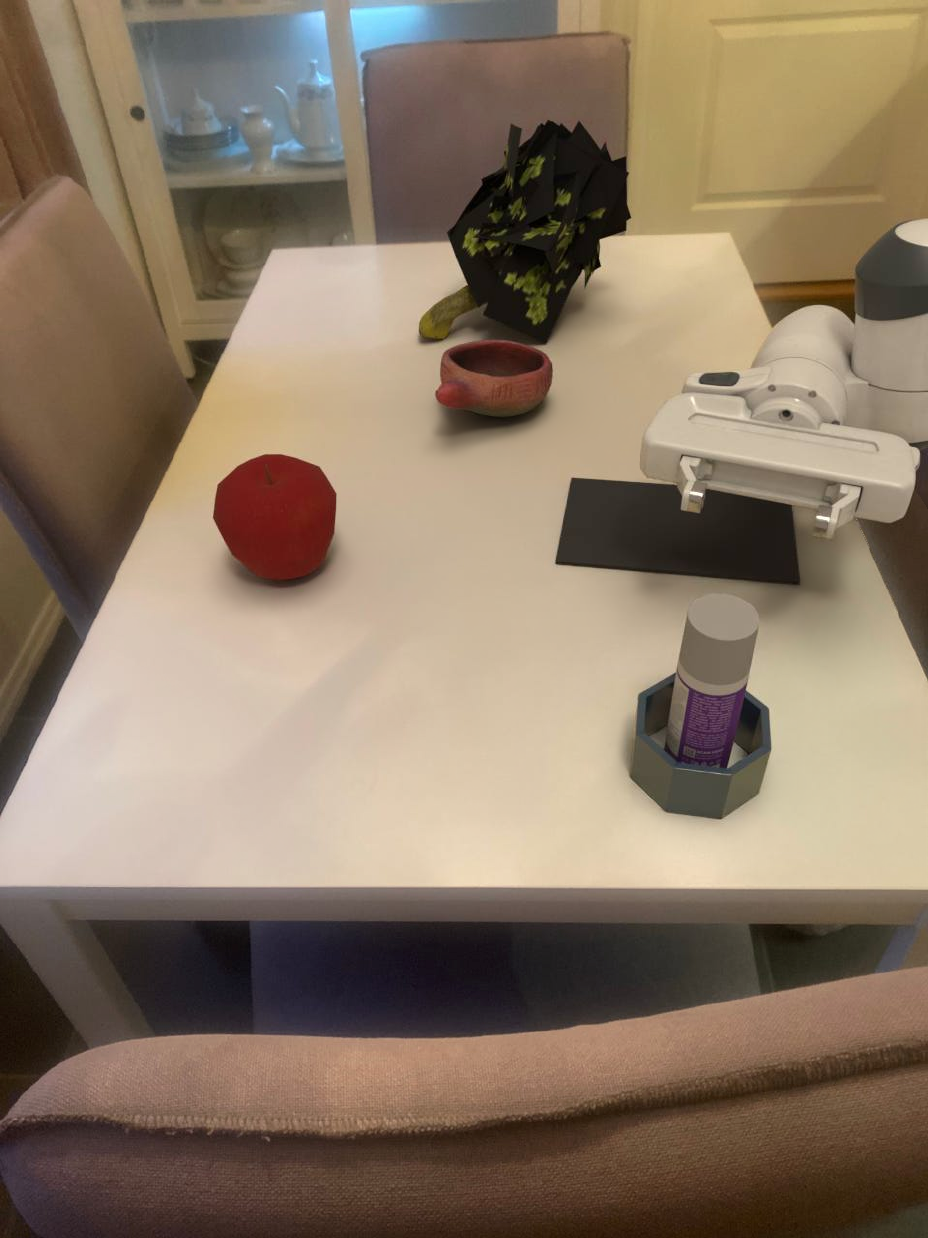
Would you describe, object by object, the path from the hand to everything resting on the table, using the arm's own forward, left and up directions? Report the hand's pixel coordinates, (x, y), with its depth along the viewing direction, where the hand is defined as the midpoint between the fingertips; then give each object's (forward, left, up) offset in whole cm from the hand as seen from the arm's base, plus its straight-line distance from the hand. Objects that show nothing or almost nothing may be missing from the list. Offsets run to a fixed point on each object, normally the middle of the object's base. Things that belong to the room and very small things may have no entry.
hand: (755, 517), depth 66 cm
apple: (+41, -6, -14) cm, 43 cm away
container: (+3, +12, -14) cm, 19 cm away
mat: (+5, -17, -14) cm, 23 cm away
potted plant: (+28, -62, -14) cm, 69 cm away
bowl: (+26, -36, -14) cm, 46 cm away
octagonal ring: (+3, +12, -14) cm, 19 cm away
